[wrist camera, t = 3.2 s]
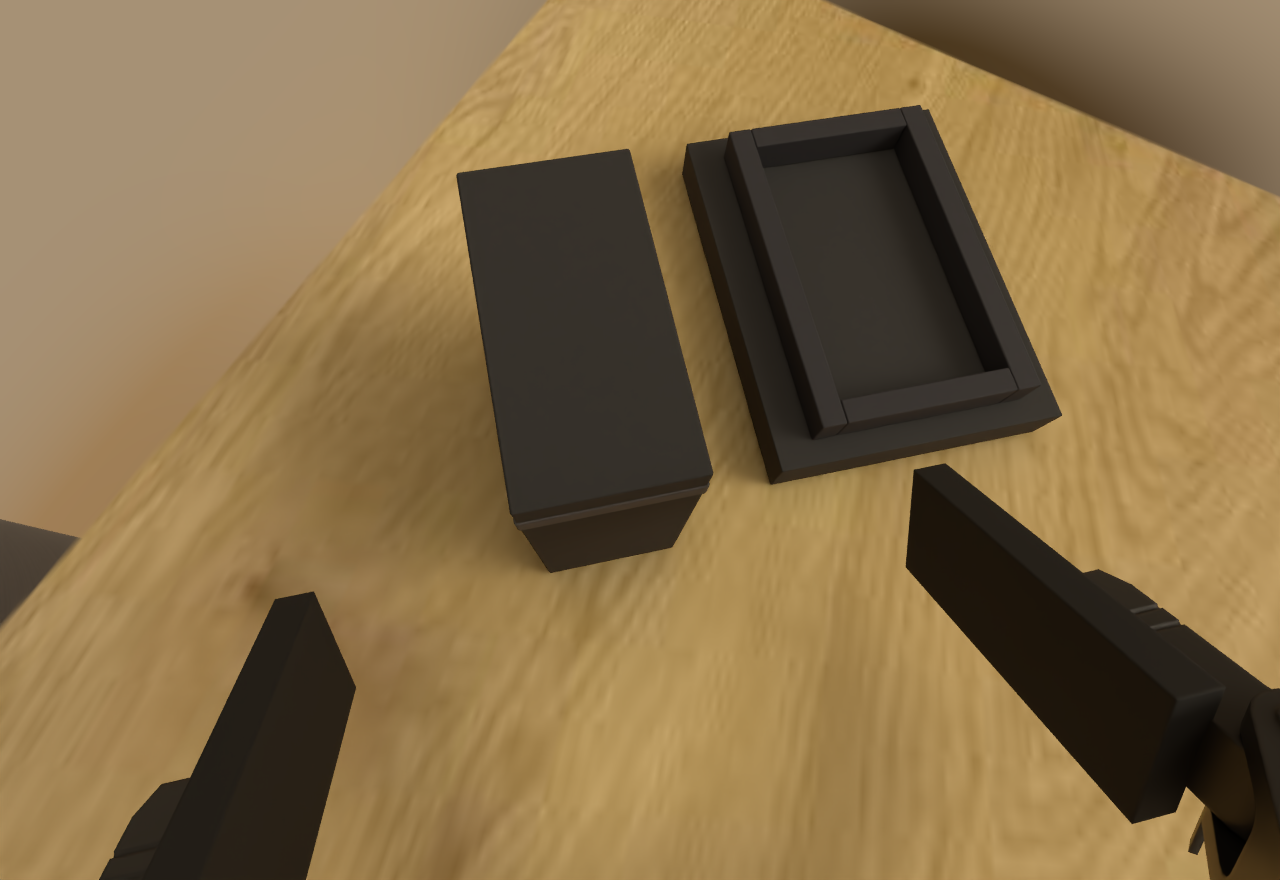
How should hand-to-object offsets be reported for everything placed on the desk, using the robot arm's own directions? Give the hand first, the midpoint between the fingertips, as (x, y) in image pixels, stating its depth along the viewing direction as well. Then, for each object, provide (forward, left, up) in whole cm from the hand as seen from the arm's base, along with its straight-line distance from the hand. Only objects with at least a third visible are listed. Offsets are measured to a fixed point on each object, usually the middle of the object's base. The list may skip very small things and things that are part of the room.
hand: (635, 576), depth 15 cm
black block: (-5, +5, -12) cm, 14 cm away
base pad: (+2, +17, -12) cm, 21 cm away
